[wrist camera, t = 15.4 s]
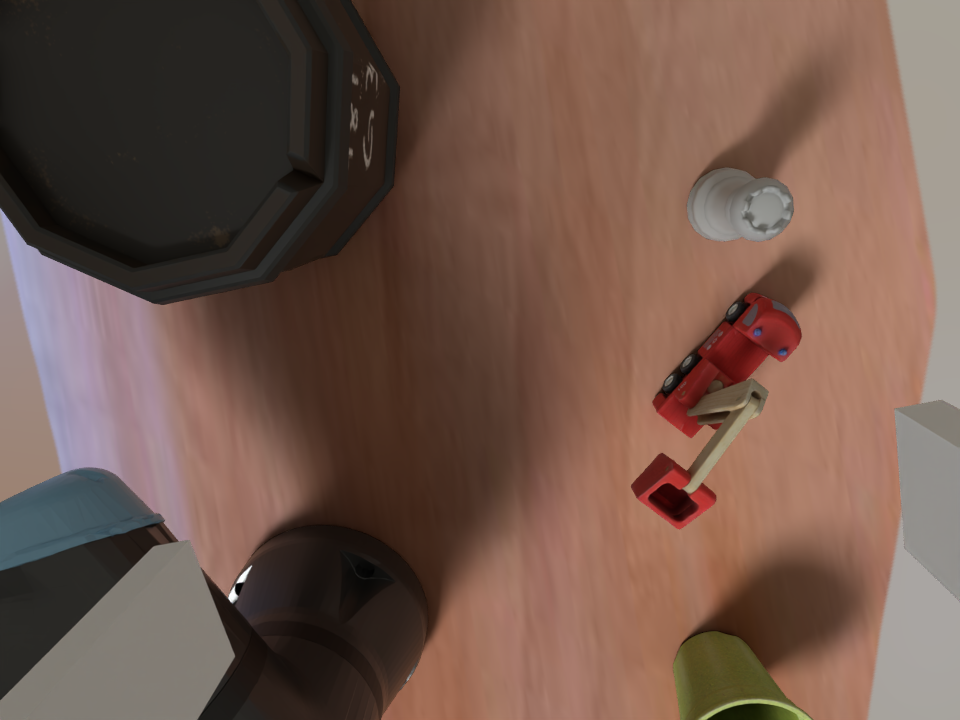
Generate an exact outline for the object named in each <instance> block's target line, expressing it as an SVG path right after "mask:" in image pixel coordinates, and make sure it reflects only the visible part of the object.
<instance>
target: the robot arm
mask: <svg viewBox="0 0 960 720" xmlns="http://www.w3.org/2000/svg"><path fill="white" fill-rule="evenodd" d="M895 422H896V436H897V450H898V464H899V478H900V492H901V506H902V520H903V534H904V548H905V549H906V550H907V551H908V552H909V553H910V554H911V555H912V556H913V557H914V558H915V559H916V560H917V561H918V562H919V563H920V564H921V565H922V566H923V567H924V568H925V569H927V571H928V572H930V573H931V574H932V575H933V576H934V577H935V578H936V579H937V580H938V581H939V582H940V583H941V584H942V585H943V586H944V587H945V588H946V589H947V590H948V591H949V592H950V593H951V594H953V596H955V598H957V599H958V600H959V601H960V409H958V408H956V407H954V406H953V405H951V404H949V403H947V402H945V401H943V400H938V401H933V402H928V403H922V404H917V405H911V406H906V407H901V408H895ZM164 521H165V520H164V518H163V517H162V516H161V515H160V514H157V513H154V512H153V511H152V510H151V509H150V508H149V507H148V506H147V505H146V504H145V503H144V502H143V501H142V500H141V499H140V498H139V497H138V496H137V495H136V494H135V493H134V492H133V491H132V490H131V489H130V488H129V487H128V486H127V485H126V484H125V483H124V482H123V481H122V480H121V479H120V478H119V477H118V476H116V475H115V474H113V473H112V472H110V471H107V470H104V469H100V468H79V469H75V470H71V471H68V472H65V473H63V474H60V475H58V476H56V477H53V478H51V479H49V480H47V481H44V482H42V483H40V484H38V485H35V486H33V487H31V488H29V489H27V490H25V491H23V492H21V493H18V494H16V495H14V496H12V497H10V498H8V499H6V500H4V501H2V502H1V503H0V720H381V717H382V715H383V714H384V712H385V711H386V710H387V708H388V707H389V705H390V704H391V702H392V701H393V699H394V698H395V696H396V695H397V693H398V692H399V691H400V690H401V689H402V688H403V686H404V685H405V684H406V683H407V681H408V680H409V679H410V677H411V676H412V674H413V673H414V671H415V669H416V667H417V665H418V663H419V660H420V658H421V655H422V651H423V647H424V642H425V638H426V633H427V627H428V608H427V602H426V598H425V595H424V592H423V589H422V587H421V584H420V582H419V581H418V579H417V577H416V575H415V574H414V572H413V571H412V569H411V568H410V567H409V566H408V564H407V563H406V562H405V561H404V560H403V559H402V558H401V557H400V556H399V555H398V554H397V553H396V552H395V551H393V550H392V549H391V548H389V547H388V546H387V545H385V544H384V543H382V542H380V541H379V540H377V539H375V538H373V537H371V536H369V535H366V534H364V533H362V532H359V531H356V530H352V529H348V528H344V527H338V526H328V525H316V526H306V527H301V528H296V529H293V530H289V531H287V532H284V533H282V534H280V535H278V536H276V537H274V538H272V539H270V540H269V541H268V542H266V543H265V544H264V545H262V546H261V547H260V548H259V549H258V550H257V551H256V552H255V553H254V554H253V555H252V556H251V558H250V559H249V561H248V562H247V563H246V565H245V566H244V568H243V569H242V570H241V572H240V573H239V575H238V576H237V578H236V580H235V581H234V583H233V586H232V588H231V590H230V593H229V595H228V598H227V597H226V596H225V594H224V593H223V592H222V591H221V590H220V589H219V588H218V586H217V585H216V584H215V583H214V582H213V581H212V580H211V578H210V577H209V576H208V575H207V574H206V573H205V572H204V570H203V569H202V568H201V567H200V565H199V563H198V560H197V558H196V555H195V552H194V550H193V547H192V545H191V542H190V540H185V541H180V542H179V541H178V540H177V539H176V538H175V536H174V535H173V534H172V533H171V532H170V530H169V529H168V528H167V527H166V526H165V524H164V523H163V522H164Z"/></svg>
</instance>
